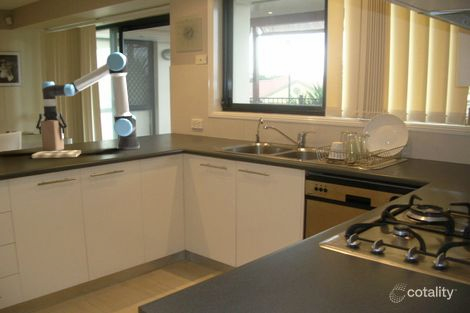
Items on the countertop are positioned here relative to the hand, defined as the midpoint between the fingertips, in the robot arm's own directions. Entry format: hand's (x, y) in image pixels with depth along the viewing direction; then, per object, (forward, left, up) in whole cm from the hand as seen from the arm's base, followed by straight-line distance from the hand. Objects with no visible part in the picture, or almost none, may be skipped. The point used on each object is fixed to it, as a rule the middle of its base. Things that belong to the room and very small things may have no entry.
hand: (52, 138), depth 299 cm
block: (0, 0, -8) cm, 8 cm away
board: (-6, +15, -9) cm, 18 cm away
